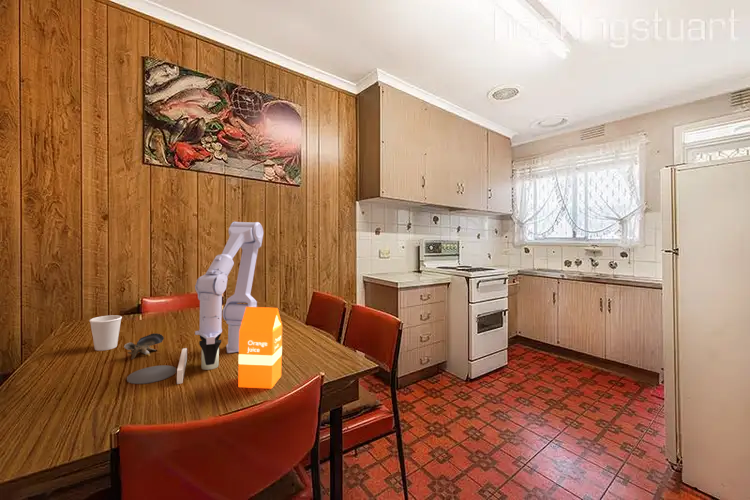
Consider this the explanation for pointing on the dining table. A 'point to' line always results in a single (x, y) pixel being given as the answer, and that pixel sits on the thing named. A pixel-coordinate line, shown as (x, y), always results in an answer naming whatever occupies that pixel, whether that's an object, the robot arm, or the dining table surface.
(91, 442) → the dining table surface
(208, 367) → the sage cylinder
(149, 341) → the eagle figurine
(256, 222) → the robot arm
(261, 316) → the orange juice
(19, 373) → the dining table surface
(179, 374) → the divider wall
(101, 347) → the dixie cup
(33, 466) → the dining table surface
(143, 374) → the rubber mat
